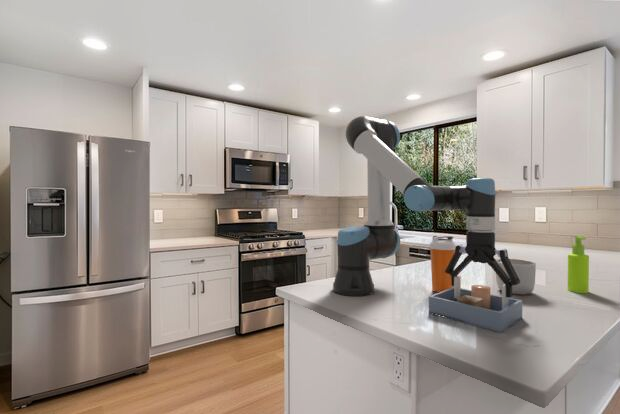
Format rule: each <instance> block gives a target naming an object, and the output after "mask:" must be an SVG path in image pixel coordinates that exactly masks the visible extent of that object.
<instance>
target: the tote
mask: <svg viewBox="0 0 620 414" xmlns="http://www.w3.org/2000/svg"><path fill="white" fill-rule="evenodd" d="M464 295H467V296H471V289H466V288H461V297H462V296H464ZM430 313H433V314H432V315H434V314H437V315H440V316H439V317H441V316H444V317H443V318H445V317H446V318H445V319H448V318H449V320H452V319H453V320H452V321H456V322H459V321H460V323H464V324H467V323H468V324H467V325H470V324H472V325H471V326H474V325H475V326H474V327H477V326H478V327H477V328H481V327H482V328H481V329H484V330H488V329H489V331H492V330H493V332H496V333H499V332H500V334H501V332H502V333H503V332H504V330H505V331H506V330H507V329H509V328H510V327H513V325H514V323H517V322H519V321H520V320H521V319H523V300H522V299H516V298H512V297H510V298H509V303H508V307H506V308H504V309H502V295H497V294H492V293H490V309H485V308H481V307H477V306H472V305H468V304H464V303H459V302H457V299H456V298H454V286H453V287H452V288H450V289H447V290H444V291H442V292H439V293H438V292H436V293H434V294H431V295H429V296H428V314H430ZM437 315H436V316H437ZM508 327H509V328H508Z"/></svg>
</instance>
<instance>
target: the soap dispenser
mask: <svg viewBox="0 0 620 414" xmlns="http://www.w3.org/2000/svg"><path fill="white" fill-rule="evenodd" d="M573 238H574V239H575V242H574V244H572V247H571V248H572V249H571V250H572V253H568V254H567V291H568V292H572V293H577V294H588V293H589V288H590V287H589V285H590V284H589V281H590V280H589V277H590V275H589V274H590V273H589V272H590V267H589V266H590V263H589V262H590V255H588V254H585V245H584V244H582V240H586V237H585V236H583V235H574V236H573Z"/></svg>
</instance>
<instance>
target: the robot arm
mask: <svg viewBox="0 0 620 414" xmlns="http://www.w3.org/2000/svg"><path fill="white" fill-rule="evenodd" d="M345 137H346V138H345V139H346V141H347V143H348V146H350V147H351V149H352V150H353V151H354V152H356V154H360V155H361V154H362V155H363V156H364V157H365V159H367V160H366V161H367V167H366V168H367V220H366V221H364V223H363V225H356V226H348V227H343V228H341V229H340V230H339V231H338V232H337V239H336V245H337V246H336V247H337V249H336V250H337V271H336V274H335V276H334V277H335V278H334V281H333V283H332V290H333V292H334V293H335V294H339V295H342V296H349V297H362V296H363V297H364V296H369V295H371V294H374V292H375V284H374V281H373V279H372V278H373V277H372V274H371V270H370V261H372V260H377V259H378V260H379V259H386V258H389V257H392V256H394V255H395V254H396V253H397V252H398V251H399V250H400V246H401V236H400V234H399V233H398V231H397V229H395V224H394V222H393V221H392V220H391V184H392V185H393V186H394V187H395V188H396V189H397V190H398V191H399V192H400V193H401V194H402V195H403V201H404V203H405V204H404V205H405V206H406V207H407V208H408V209H409V210H410V211H414V212H420V213H421V212H431V211H432V212H433V211H465V212H466V214H465V215H466V225H465V227H466V230H467V231H466V233H465V234H466V235H465V236H466V237H465V238H466V241H465V242H466V245H465V246H464V245H463V244H458V245H457V244H456V248H455V253H454V255H453V257H452V259H451V261H450V263H449V265H448V266H447V268H446V270H445V272H446V273H448V274H450V275H451V285H452V286H453V287H454V298H456V299H457V298H459V297H461V283H462V282H461V281H462V280H461V275H459V274H461V272H462V271H463V270H464V269H465V268H466V267H467V266H468V265H469V264H470V263H471V262H473V263H481V264H487V265H488V266H489V267H491V269H492V270H493V271H494V272H495V275H496V274H497V275H498V276H499V277H500V279H501V280H502V281H503V282H504V284H505V285H502V290H501V296H502V309H504V308H506V307H508V303H509V298H512V297H513V294H512V286H513V285H517V284H519V283H520V280H519V278H518V276H517V274H516V272H515V270H514V268H513V266H512V264H511V262H510V260H509V259H510V258H509V254H508V250H507V249H506V248H504V249H496V233H495V232H494V231H495V230H496V195H497V193H496V183H495V180H494V179H493V178H489V177H479V178H478V177H477V178H469V179H467V180H466V184H465V185H460V186H459V185H455V186H454V185H453V186H452V185H450V186H449V185H448V186H447V185H446V186H445V185H442V186H441V185H431V184H430V183H428V182H427V181H426V180H425V179H424V178H423V177H422V176H421V175H419V174H418V173H417V172H416V171H415V170H414V169H413V168H412V167H410V165H408V164H407V163H406V162H405V161H404V160H403V159H402V158H400V157H399V156H398V155H397V153H395V149H396V148H397V146H398V145H399V143H400V140H401V135H400V131H399V128H398V126H397V125H396V124H395V123H394V122H392V121H389V120H387V119H379V118H376V117H369V116H365V115H361V116H358V117H354V118H353V119H352V120H351V121H350V122H349V123H348V124H347V127H346V129H345ZM463 253H466V254H467V255H466V257H465V258H464V259H463V260H462V261H461V262H460V263H459V265H457V263H458V262H459V260H460V258H461V256H462V255H463ZM496 255H497V257H498V258H499V259H501V261H502V263H503V265H504V267H505V269H506V271H507V273H508V275H509V277H510V278H509V277H508V275H507V274H506V273H505V272H504V270H503V269H502V268H501V267H500V265H499V264H498V263H497V261H496V260H497V259H496V258H495V256H496ZM453 269H454V271H453Z"/></svg>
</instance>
